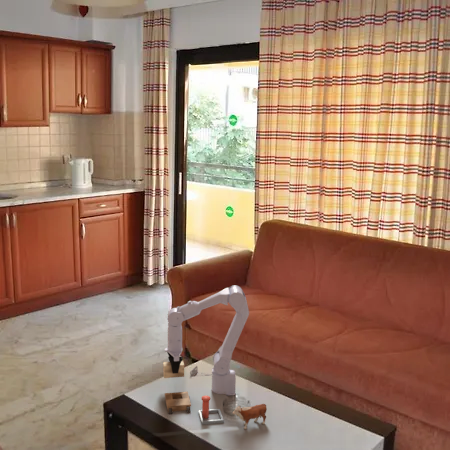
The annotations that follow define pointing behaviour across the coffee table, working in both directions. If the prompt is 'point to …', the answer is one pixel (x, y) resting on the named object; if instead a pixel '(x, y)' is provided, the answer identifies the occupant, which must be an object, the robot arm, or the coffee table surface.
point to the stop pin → (205, 406)
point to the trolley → (178, 401)
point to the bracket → (196, 372)
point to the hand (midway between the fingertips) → (174, 370)
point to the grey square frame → (211, 420)
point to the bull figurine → (251, 413)
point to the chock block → (168, 370)
